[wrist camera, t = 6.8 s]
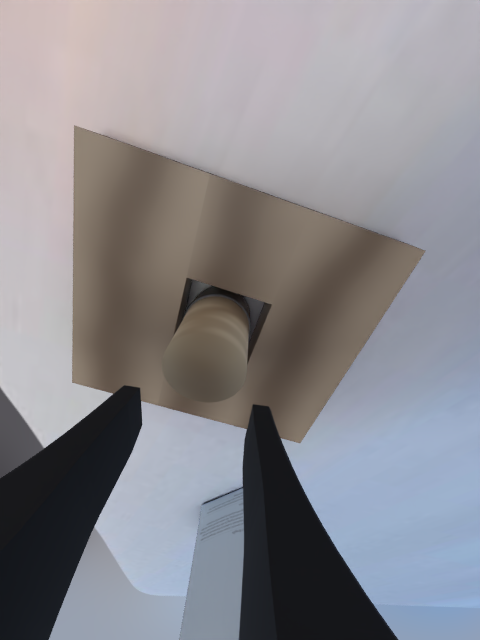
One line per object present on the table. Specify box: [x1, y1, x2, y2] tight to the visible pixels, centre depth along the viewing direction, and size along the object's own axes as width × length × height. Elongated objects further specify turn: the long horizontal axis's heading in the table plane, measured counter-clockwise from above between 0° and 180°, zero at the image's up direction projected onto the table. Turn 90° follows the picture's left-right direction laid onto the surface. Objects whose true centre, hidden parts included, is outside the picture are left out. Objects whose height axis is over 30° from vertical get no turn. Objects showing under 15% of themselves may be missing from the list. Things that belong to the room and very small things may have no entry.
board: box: [72, 126, 425, 443], centre depth 17 cm, size 18×16×2 cm
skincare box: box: [179, 488, 244, 640], centre depth 23 cm, size 8×7×16 cm
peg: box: [162, 287, 251, 403], centre depth 15 cm, size 4×4×7 cm
